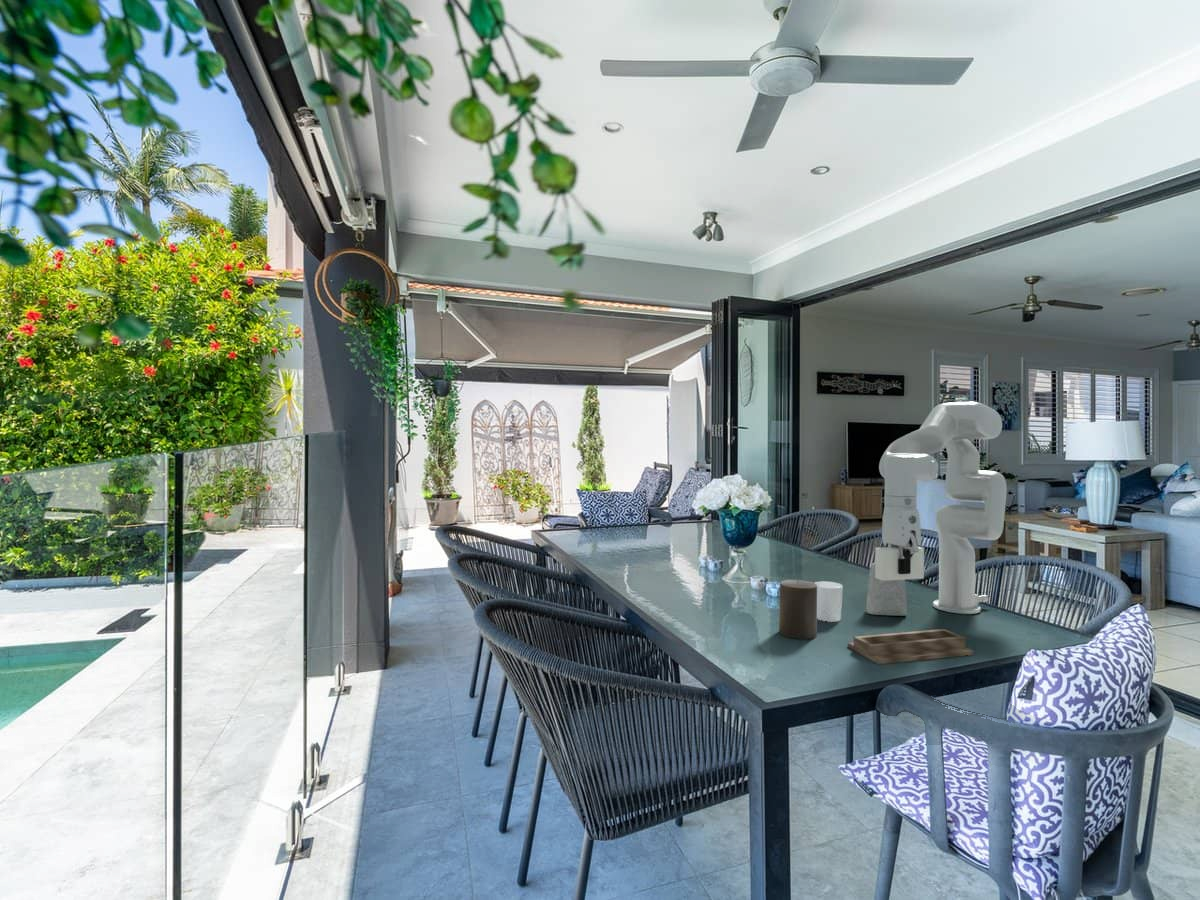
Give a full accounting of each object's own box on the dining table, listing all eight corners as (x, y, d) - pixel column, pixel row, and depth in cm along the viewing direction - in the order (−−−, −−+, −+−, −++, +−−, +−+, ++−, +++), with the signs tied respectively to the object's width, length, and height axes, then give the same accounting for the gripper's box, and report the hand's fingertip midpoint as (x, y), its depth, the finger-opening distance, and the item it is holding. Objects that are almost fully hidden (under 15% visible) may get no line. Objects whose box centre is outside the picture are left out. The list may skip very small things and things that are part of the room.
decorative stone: (905, 612, 185) (905, 563, 185) (908, 618, 180) (908, 567, 179) (865, 609, 189) (865, 561, 188) (867, 615, 183) (867, 565, 183)
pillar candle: (798, 642, 161) (798, 584, 161) (771, 631, 170) (772, 576, 169) (824, 636, 166) (825, 580, 165) (797, 626, 174) (798, 573, 174)
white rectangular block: (915, 576, 165) (916, 546, 165) (923, 578, 163) (924, 548, 162) (875, 578, 163) (875, 547, 163) (882, 580, 160) (882, 549, 160)
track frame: (937, 638, 163) (937, 625, 162) (973, 655, 151) (973, 641, 151) (847, 646, 157) (847, 633, 157) (877, 664, 146) (877, 649, 146)
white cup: (845, 623, 176) (845, 588, 176) (815, 622, 178) (815, 587, 177) (840, 615, 184) (840, 581, 183) (812, 614, 185) (812, 580, 185)
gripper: (935, 505, 155) (934, 578, 155) (893, 498, 171) (892, 565, 172) (908, 506, 154) (907, 580, 154) (868, 499, 170) (867, 566, 170)
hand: (899, 571), depth 163 cm, fingers closed on white rectangular block, 3 cm apart
